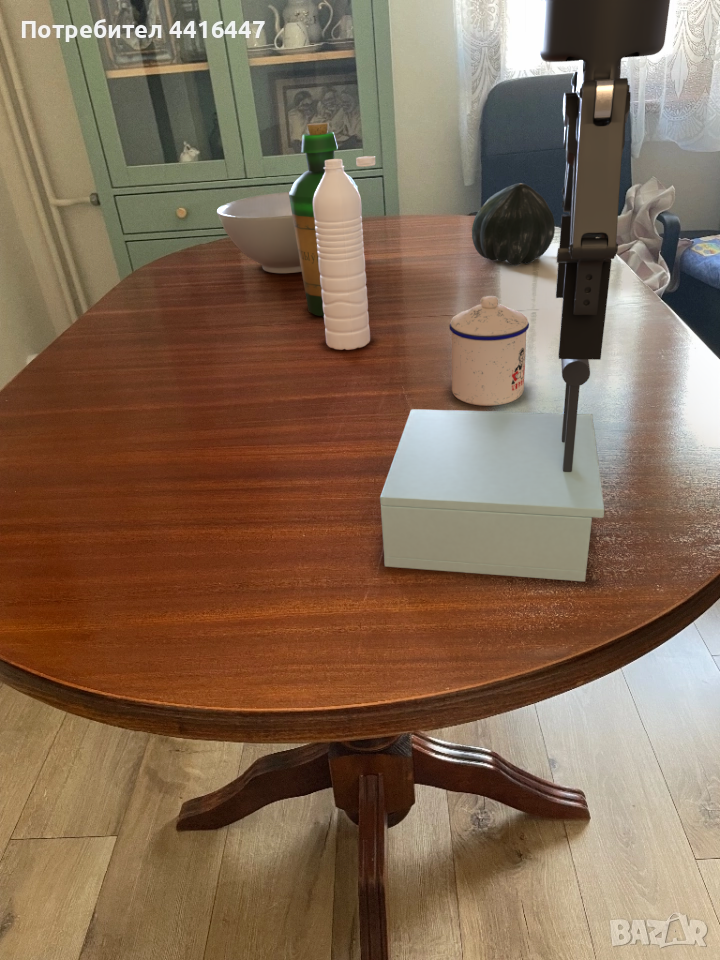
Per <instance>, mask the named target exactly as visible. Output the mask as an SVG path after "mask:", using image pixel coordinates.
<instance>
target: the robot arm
mask: <svg viewBox="0 0 720 960" xmlns="http://www.w3.org/2000/svg"><path fill="white" fill-rule="evenodd" d="M670 1H671V0H541V2H540V17H539V19H540V21H539V22H540V23H539V38H538V39H539V41H538V42H539V43H538V55H539V58H540V59H541V60H542V61H544V62H548V63H563V62H564V63H566V62H577V61H578V69H577V71H574V72H573V76H572V77H571V82H570V83H571V84H570V85H571V86H572V92H564V93H563V101H562V122H563V126H564V132H563V149H564V151H565V162H566V163H565V174H564V185H563V187H562V188H561V195H562V196H563V199H562V201H561V208H562V209H563V213H562V214H561V218H560V219H561V220H560V233H559V247H557V252H556V253H557V254H556V264H557V273H556V288H555V299H562V302H561V303H562V304H561V305H562V306H561V317H560V329H559V344H558V360H561V359H588V360H595V361H596V360H599V361H600V360H602V350H603V342H604V341H603V340H604V333H605V324H606V314H607V305H608V296H609V295H608V294H609V289H610V288H609V287H610V277H611V271H612V270H611V268H612V260H614V259H615V257H616V256H617V253H618V251H619V243H617V236H618V220H619V208H620V207H619V206H620V190H621V173H622V159H623V153H624V149H625V143H626V137H625V136H626V123H627V122H628V117H629V113H630V109H631V96H632V93H631V91H630V87H631V86H630V84H629V80H628V79H629V78H628V77H621V76H622V75H621V73H622V70H621V69H622V59H623V58H637V57H646V56H647V57H648V56H653V55H656V54H658V53H660V52H661V51H662V50H663V48H664V46H665V43H666V34H667V28H668V27H667V26H668V20H669V19H668V18H669V11H670V4H671V3H670Z"/></svg>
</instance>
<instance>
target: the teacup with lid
mask: <svg viewBox="0 0 720 960" xmlns="http://www.w3.org/2000/svg"><path fill="white" fill-rule="evenodd" d="M529 328H530V322H529V319H528V317H527V316H526V315H525V314H524V313H523V312H521V311H519V310H517V309H512V308H509V307H507V306H505V305H503V304H500V303H499V298H498V297H497V296H494V295H485V296H483V297H482V298H481V299H480V304H477V305H474V306H472V307H471V308H470V309H466V310H463V311H459V312H458V313H457V314H456V315H454V316H453V317H452V318H451V320H450V324H449V331H450V332H451V392H452V394H453V396H454V397H455V398H457V399H458V400H459V401H461V402H464V403H466V404H469V405H476V406H487V407H489V406H490V407H491V406H501V405H506V404H509V403H512V402H515V401H516V400H517V399H519V398H520V397H521V396H522V395H523V393H524V390H525V377H526V375H525V374H526V373H525V372H526V355H527V354H526V353H527V335H528V334H527V331H528V330H529Z"/></svg>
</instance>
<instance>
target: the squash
mask: <svg viewBox="0 0 720 960" xmlns="http://www.w3.org/2000/svg"><path fill="white" fill-rule="evenodd" d="M555 227H556V226H555V217H554V214H553V212H552V210H551V209H550V207H549V204H548V203H547V202H546V200H545V198H544V197H543V196H542V195H541V194H540V193H539V192H538V191H536V190H535V189H534V188H533V187H531V186H530V185H528V184H526V183H521V182H520V183H519V182H518V183H515V184H512V185H509V186H506V187H505V188H503V189H501V190H499V191H497V192H496V193H494V194H493V195H492V196H490V197H489V198H488V199H487V200H486V201H485V203H484V204H483V205H482V206H481V207H480V209H479V210H478V211H477V213H476V215H475V217H474V219H473V222H472V226H471V239H472V244H473V246H474V248H475V250H476V252H477V253H478V254H479V255H480V256H481V257H483V258H485V259H488V260H490V261H498V262H500V263H501V262H502V263H503V262H505V261H506V262H507V263H508V264H510V265H512V266H518V265H520V264H524V265H527V264H530V263H533V262H534V261H535V260H537V259H540V257H542V256H543V255H545V253H546V252H547V250H548V249H549V248H550V246H551V244H552V242H553V240H554V237H555V232H556V231H555V230H556V228H555Z"/></svg>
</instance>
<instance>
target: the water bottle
mask: <svg viewBox="0 0 720 960" xmlns="http://www.w3.org/2000/svg"><path fill="white" fill-rule="evenodd" d="M355 162H356V163H355V165H356V167H359V168H361V167H362V168H363V167H372V166H375V165H376V156H375V155H364V156H358V157H356V158H355ZM343 164H344V163H343V159H342V158H334V159H330V160H325V167H324V169H325V173H324V175H323V177H322V179H321V181H320V183H319V185H318V187H317V189H316V192H315V194H314V197H313V212H314V218H315V225H316V226H315V230H316V237H317V249H318V256H319V257H318V261H319V272H320V274H321V275H320V283H321V287H322V290H321V293H322V300H323V312H324V317H323V323H324V327H325V329H324V335H325V343H326V345H327V347H328V348H330V349H333V350H337V351H343V350H346V351H350V350H351V351H352V350H357V349H361V348H363V347H366V346H367V345H368V344H369V343H370V342H371V331H370V329H371V328H370V325H369V321H370V316H369V311H368V309H369V300H368V288H367V285H366V284H367V273H366V259H365V258H366V257H365V253H364V252H365V247H364V243H365V242H364V234H363V233H364V231H363V222H362V221H363V217H362V216H363V215H362V199H361V195H360V192H359V189H358V190H357V189H356V187H355V186H354V184H353V183H352V182H351V180H350V179H349V177H348V176H347V175H348V174H347V173H346V171H345V170H344V168H345V165H343ZM346 174H347V175H346Z"/></svg>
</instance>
